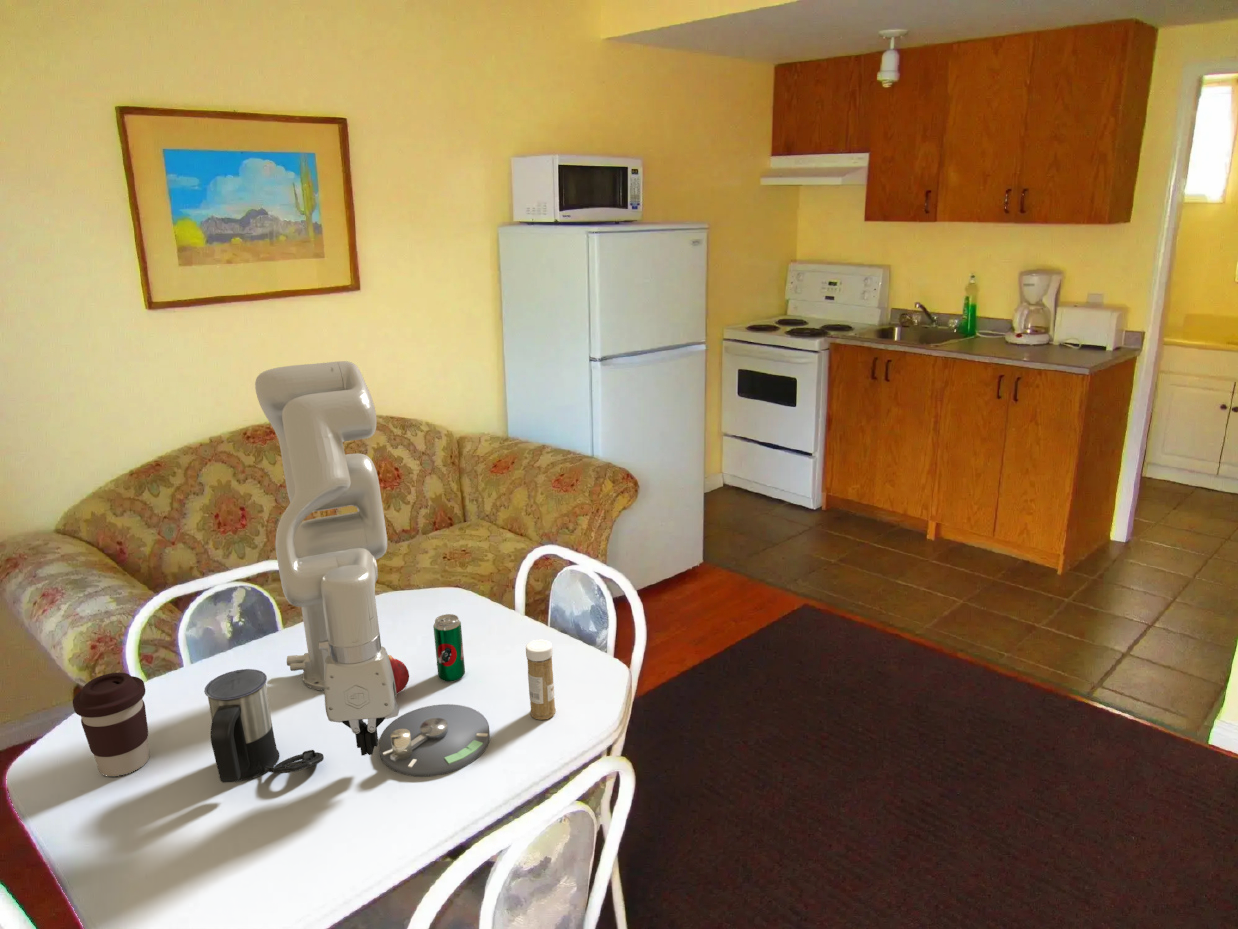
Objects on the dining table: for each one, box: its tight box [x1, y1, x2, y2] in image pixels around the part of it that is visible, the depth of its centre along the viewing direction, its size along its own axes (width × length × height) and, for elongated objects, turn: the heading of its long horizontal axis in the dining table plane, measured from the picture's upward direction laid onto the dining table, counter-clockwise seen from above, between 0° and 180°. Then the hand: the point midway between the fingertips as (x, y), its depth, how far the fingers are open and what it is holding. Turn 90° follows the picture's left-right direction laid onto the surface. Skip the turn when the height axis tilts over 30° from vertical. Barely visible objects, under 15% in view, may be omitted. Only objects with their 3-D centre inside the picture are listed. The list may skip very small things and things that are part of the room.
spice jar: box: [525, 639, 557, 721], centre depth 150 cm, size 5×5×14 cm
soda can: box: [433, 613, 466, 683], centre depth 162 cm, size 5×5×12 cm
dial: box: [378, 703, 491, 778], centre depth 144 cm, size 18×18×2 cm
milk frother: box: [203, 668, 325, 784], centre depth 137 cm, size 14×16×15 cm
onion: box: [388, 654, 410, 695], centre depth 157 cm, size 6×6×8 cm
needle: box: [390, 718, 448, 761], centre depth 140 cm, size 11×4×4 cm, turn 146°
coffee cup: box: [72, 672, 150, 777], centre depth 138 cm, size 10×10×15 cm
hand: (368, 749), depth 137 cm, fingers closed
